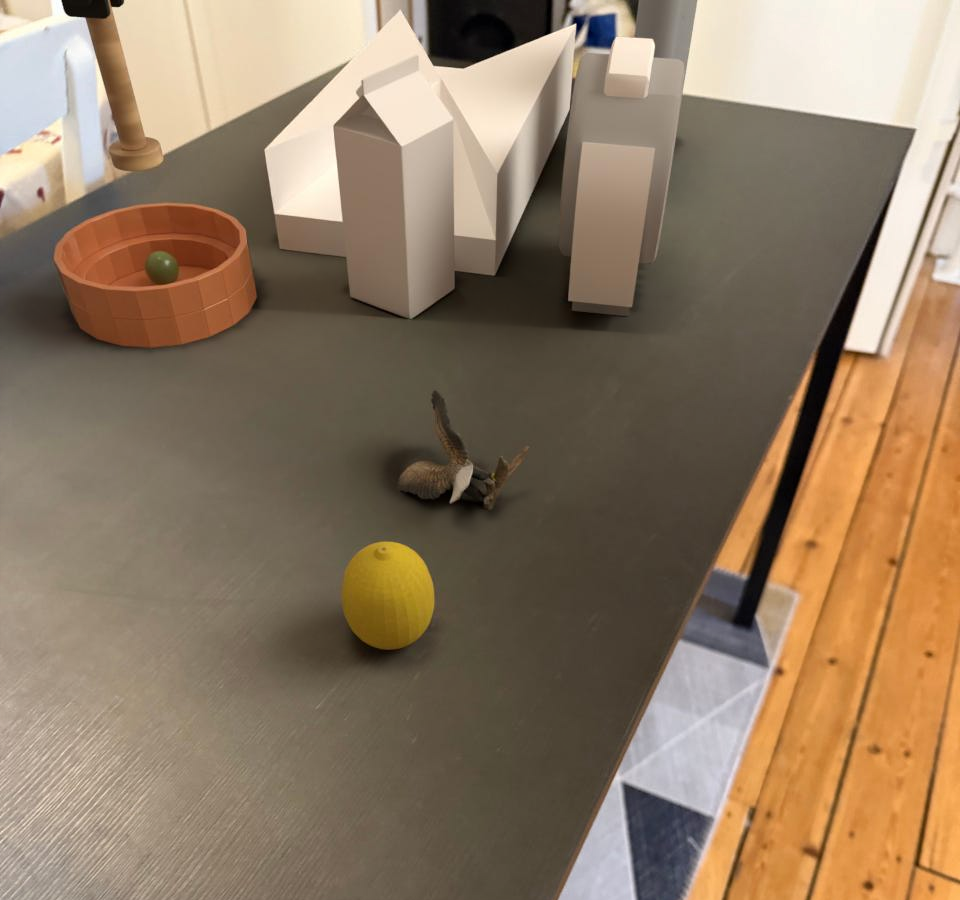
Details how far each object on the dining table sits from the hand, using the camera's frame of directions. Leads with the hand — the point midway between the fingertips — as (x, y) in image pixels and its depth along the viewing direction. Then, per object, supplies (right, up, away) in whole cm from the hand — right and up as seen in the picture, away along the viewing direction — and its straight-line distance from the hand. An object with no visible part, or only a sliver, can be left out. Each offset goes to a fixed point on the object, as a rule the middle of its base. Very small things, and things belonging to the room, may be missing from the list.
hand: (95, 8), depth 66 cm
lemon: (+22, -46, -8) cm, 52 cm away
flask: (+47, +8, +39) cm, 61 cm away
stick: (0, -7, +8) cm, 11 cm away
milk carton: (+21, -13, +20) cm, 32 cm away
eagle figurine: (+26, -35, +1) cm, 43 cm away
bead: (-1, -12, +18) cm, 21 cm away
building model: (+24, +8, +39) cm, 46 cm away
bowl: (-1, -15, +18) cm, 24 cm away
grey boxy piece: (+40, -12, +22) cm, 47 cm away
